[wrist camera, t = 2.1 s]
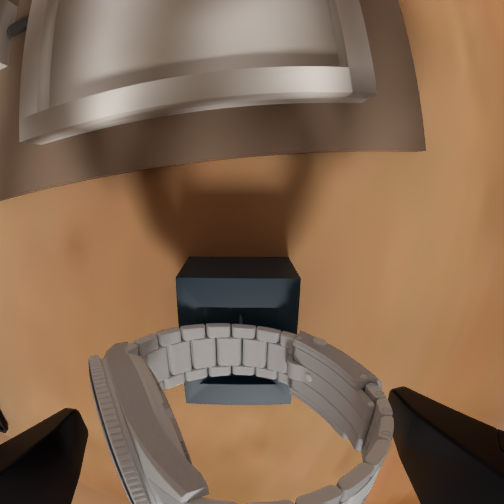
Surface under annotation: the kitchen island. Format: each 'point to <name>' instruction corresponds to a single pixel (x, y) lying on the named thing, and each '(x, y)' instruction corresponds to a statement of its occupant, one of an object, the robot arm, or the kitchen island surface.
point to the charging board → (197, 84)
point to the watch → (232, 380)
